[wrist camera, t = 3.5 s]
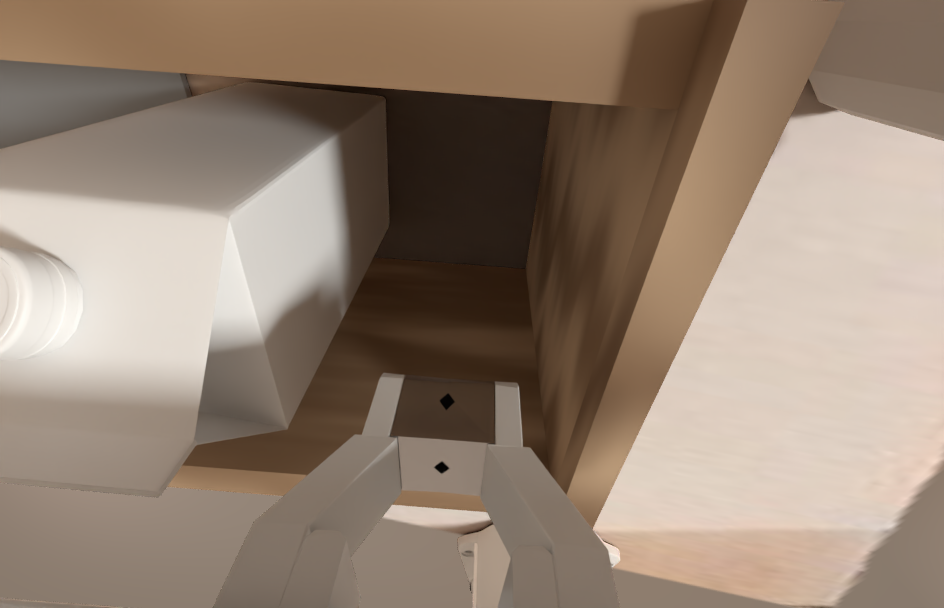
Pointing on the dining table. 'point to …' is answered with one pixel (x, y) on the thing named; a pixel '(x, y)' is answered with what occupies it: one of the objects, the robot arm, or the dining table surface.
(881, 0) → the water bottle
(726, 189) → the shelf bay
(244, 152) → the milk carton
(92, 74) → the mat
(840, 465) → the dining table surface
